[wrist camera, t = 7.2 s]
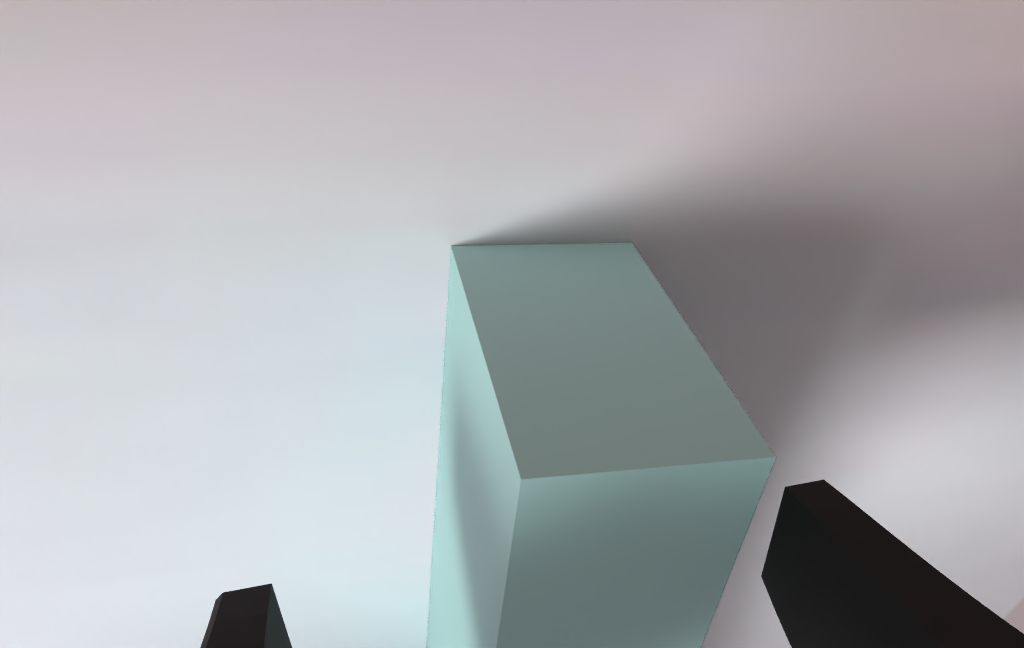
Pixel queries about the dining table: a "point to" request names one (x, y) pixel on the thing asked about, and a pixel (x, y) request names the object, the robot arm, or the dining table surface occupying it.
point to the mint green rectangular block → (582, 457)
